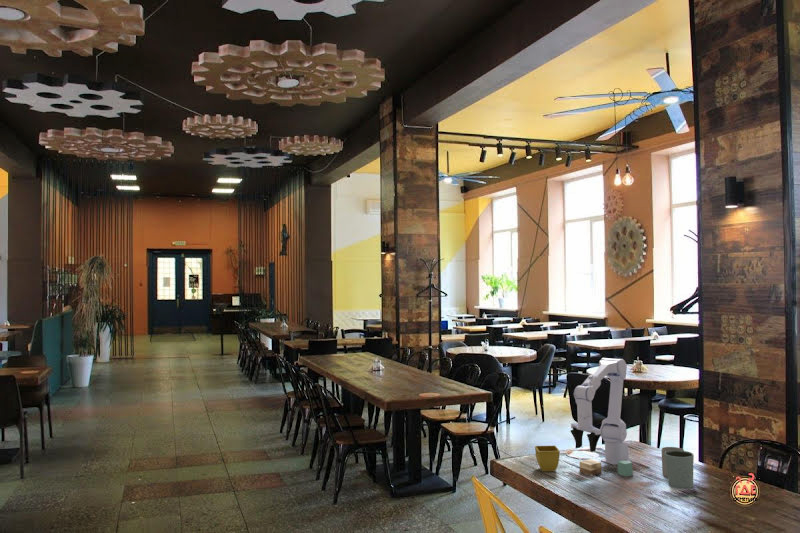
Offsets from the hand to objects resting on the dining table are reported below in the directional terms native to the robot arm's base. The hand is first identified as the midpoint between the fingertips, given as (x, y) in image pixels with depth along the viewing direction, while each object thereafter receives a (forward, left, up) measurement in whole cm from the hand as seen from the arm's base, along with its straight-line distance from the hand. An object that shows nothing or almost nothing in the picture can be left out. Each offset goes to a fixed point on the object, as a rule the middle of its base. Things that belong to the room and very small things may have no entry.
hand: (586, 449), depth 267 cm
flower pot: (+10, -12, -10) cm, 19 cm away
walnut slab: (-2, 0, -10) cm, 10 cm away
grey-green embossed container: (-17, +31, -10) cm, 37 cm away
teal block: (-11, +10, -10) cm, 18 cm away
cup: (-26, +21, -10) cm, 35 cm away
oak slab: (-2, 0, -8) cm, 8 cm away
